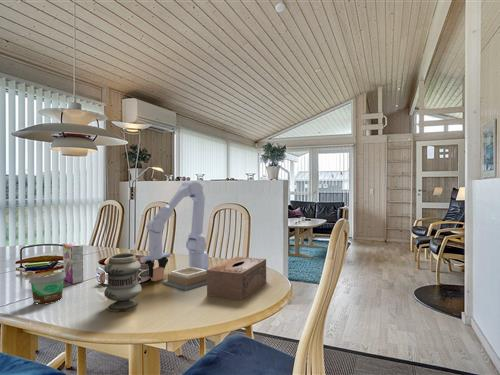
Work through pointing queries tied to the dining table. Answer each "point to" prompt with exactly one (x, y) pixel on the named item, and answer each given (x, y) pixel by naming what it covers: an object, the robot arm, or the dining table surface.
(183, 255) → the dining table surface
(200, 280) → the build base
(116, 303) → the apothecary jar
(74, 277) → the candy bar box
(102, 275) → the roller toy
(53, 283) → the food container
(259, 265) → the tissue box cover
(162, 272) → the terracotta cube
